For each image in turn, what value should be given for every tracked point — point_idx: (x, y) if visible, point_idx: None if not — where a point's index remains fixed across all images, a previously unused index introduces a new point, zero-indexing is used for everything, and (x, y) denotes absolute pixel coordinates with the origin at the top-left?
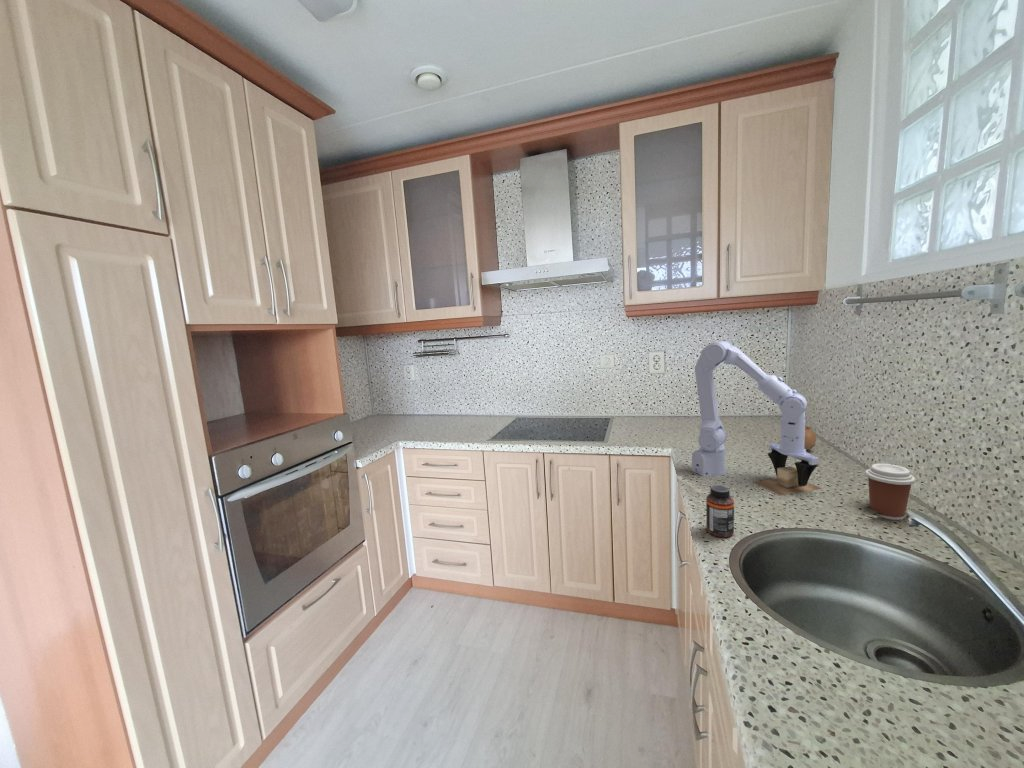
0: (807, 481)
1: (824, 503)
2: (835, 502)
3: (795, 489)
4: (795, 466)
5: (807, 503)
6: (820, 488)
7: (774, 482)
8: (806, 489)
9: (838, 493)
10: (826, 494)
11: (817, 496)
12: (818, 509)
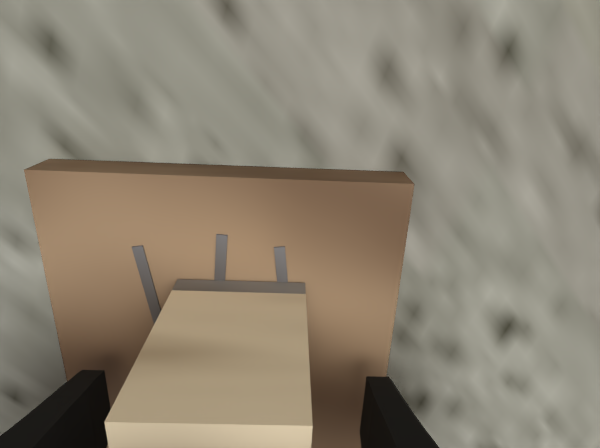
0: (406, 407)
1: (544, 334)
2: (580, 252)
3: (328, 396)
4: (141, 436)
5: (482, 422)
6: (403, 199)
7: None
8: (366, 328)
9: (487, 44)
10: (447, 174)
11: (438, 276)
12: (573, 433)
